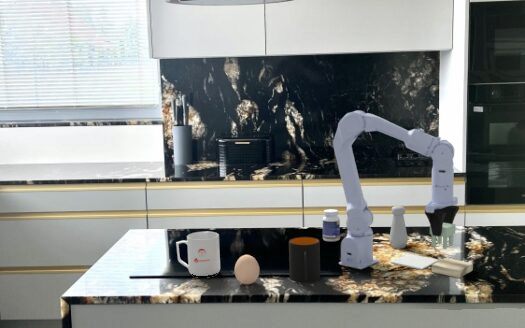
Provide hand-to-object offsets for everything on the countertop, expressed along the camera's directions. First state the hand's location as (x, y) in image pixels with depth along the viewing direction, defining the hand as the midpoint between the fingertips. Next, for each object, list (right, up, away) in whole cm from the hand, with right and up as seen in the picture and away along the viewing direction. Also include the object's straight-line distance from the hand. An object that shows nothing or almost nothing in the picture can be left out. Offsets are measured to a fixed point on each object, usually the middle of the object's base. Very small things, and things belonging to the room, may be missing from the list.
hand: (441, 233), depth 164 cm
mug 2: (-38, -12, -4) cm, 40 cm away
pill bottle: (-26, -6, +35) cm, 44 cm away
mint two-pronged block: (0, -3, 0) cm, 4 cm away
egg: (-54, -13, -5) cm, 55 cm away
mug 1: (-67, -12, +4) cm, 69 cm away
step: (+3, -10, -1) cm, 11 cm away
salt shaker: (-6, -7, +24) cm, 26 cm away
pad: (-5, -9, +8) cm, 13 cm away
